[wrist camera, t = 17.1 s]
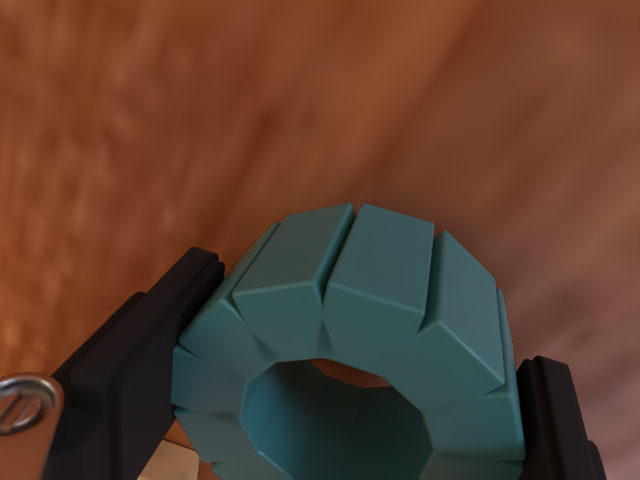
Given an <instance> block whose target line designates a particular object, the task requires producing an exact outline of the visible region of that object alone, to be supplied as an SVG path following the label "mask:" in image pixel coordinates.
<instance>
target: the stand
mask: <svg viewBox="0 0 640 480" xmlns="http://www.w3.org/2000/svg"><path fill="white" fill-rule="evenodd" d="M198 467H199V456H198V454H197V452H196V451H194V450H191V449H188V448H185V447H182V446H179V445H177V444H174V443H171V442H168V441H165V440H162V441H161V443H160V444H159V446H158V448H157V449H156V451H155V452H154V454H153V455H152V457H151V459H150V460H149V462H148V463H147V465H146V466H145V468H144V470H143V471H142V473H141V474H140V476H139V477H138V479H137V480H197V476H198Z"/></svg>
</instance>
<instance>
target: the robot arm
mask: <svg viewBox="0 0 640 480" xmlns="http://www.w3.org/2000/svg"><path fill="white" fill-rule="evenodd" d="M224 271H225V264H224V263H223V262H220V261H219V257H218V255H217V254H216V253H213V252H210V251H207V250H203V249H200V248H197V247H191V248H190V249H189V250H188V251H187V252H186V253H185V254H184V255H183V256H182V257H181V258H180V259H179V260H178V261H177V262H176V263H175V264H174V265H173V266H172V267H171V268H170V269H169V271H168V272H167V273H166V274H165V275H164V276H163V277H162V278H161V279H160V280H159V281H158V282H157V283H156V284H155V285H154V286H153V287H152V288H151V289H150V290H149V291H148V292H147V293H144V292H141V291H140V292H137V293H135V294H134V295H132V296H131V297H130V298H129V299H128V300H127V301H126V302H125V303H124V304H123V305H122V306H121V307H120V308H119V309H118V310H117V311H116V312H115V313H114V314H113V315H112V316H111V317H110V318H109V319H108V320H107V321H106V322H105V323H104V324H103V325H102V326H101V327H100V328H99V329H98V330H97V331H96V332H95V333H94V334H93V335H92V336H91V337H90V338H89V339H88V340H87V341H86V342H85V343H84V344H83V345H81V346H80V347H79V348H78V349H77V350H76V351H75V352H74V353H73V354H72V355H71V356H70V357H69V358H68V359H67V360H66V361H65V362H64V363H63V364H62V365H61V366H60V367H59V368H58V369H57V370H56V371H55V372H54V373H53V374H52V375H51V376H47V375H45V374H42V373H34V372H24V373H14V374H11V375H7V376H4V377H1V378H0V480H137V479H138V477H139V476H140V474H141V473H142V471H143V470H144V468H145V466H146V465H147V463H148V462H149V460H150V459H151V457H152V455H153V454H154V452H155V451H156V449H157V448H158V446H159V444H160V443H161V441H162V440H163V438H164V437H165V435H166V433H167V432H168V430H169V429H170V427H171V426H172V424H173V423H174V421H175V419H176V417H175V415H174V409H175V407H176V405H173V404H171V389H172V368H173V351H174V349H175V347H176V346H177V345H178V343H179V342H178V339H179V336H180V334H181V333H182V332H183V330H184V329H185V328H186V327H187V325H188V324H189V323H190V321H191V320H192V319H193V317H194V316H195V315H196V314H197V312H198V311H199V310H200V308H201V307H202V306H203V305H204V303H205V302H206V301H207V299H208V298H209V297H210V295H211V294H212V293H213V292H214V290H215V289H216V288H217V286H218V285H219V284H220V283H221V281H222V280H223V279H224ZM516 375H517V383H518V390H519V398H520V406H521V414H522V421H523V429H524V437H525V445H526V452H527V455H526V458H525V460H523V461H522V462H523V472H522V474H521V475H520V477H519V478H518V480H607V479H606V475H605V472H604V468H603V464H602V461H601V457H600V454H599V451H598V449H597V446H596V445H595V444H594V443H593V442H592V441H590V440H588V438H587V435H586V431H585V427H584V423H583V419H582V415H581V412H580V408H579V404H578V400H577V396H576V393H575V389H574V385H573V381H572V377H571V373H570V370H569V367H568V365H566V364H564V363H561V362H558V361H555V360H552V359H549V358H545V357H542V356H536V357H534V359H533V360H528V359H525V360H524V361H523V362H522V363H521V365H520V367H519V369H518V370H517V372H516Z"/></svg>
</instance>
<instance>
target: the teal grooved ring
mask: <svg viewBox="0 0 640 480" xmlns="http://www.w3.org/2000/svg"><path fill="white" fill-rule="evenodd" d="M434 229H435V225H434V223H432V222H429V221H425V220H422V219H418V218H415V217H411V216H408V215H405V214H401V213H398V212H394V211H391V210H387V209H384V208H380V207H377V206H374V205H370V204H367V203H363V204H362V205H361V207H360V209H359V212H358V214H357V216H356V214H355V211H354V208H353V205H352V204H351V203H345V204H340V205H335V206H330V207H325V208H321V209H316V210H311V211H306V212H301V213H296V214H292V215H288V216H286V218H285V219H284V220H283V222H282V223H280V222H275V223H274V224H273V225H272V226H271V227H270V228H269V229H268V230H267V231H266V232H265V233H264V234H263V235H262V236H261V237H260V238H259V239H258V240H257V241H256V242H255V243H254V244H253V245H252V246H251V247H250V248H249V249H248V250H247V251H246V252H245V253H244V254H243V255H242V256H241V257H240V258H239V259H238V261H237V262H236V263H235V264H234V266H233V267H232V268H231V270H230V271H229V272H228V274H227V275H226V276H225V277H224V279H223V280H222V281H221V283H220V284H219V285H218V286H217V288H216V289H215V290H214V292H213V293H212V294H211V295H210V297H209V298H208V299H207V301H206V302H205V303H204V305H203V306H202V307H201V308H200V310H199V311H198V312H197V314H196V315H195V316H194V317H193V319H192V320H191V321H190V323H189V324H188V325H187V327H186V328H185V329H184V330H183V332H182V333H181V334H180V336H179V339H178V342H179V343H178V345H177V346H176V347H175V349H174V351H173V368H172V389H171V404H173V405H176V407H175V409H174V415H175V417H176V418H177V420H178V422H179V423H180V425H181V427H182V429H183V430H184V432H185V434H186V435H187V437H188V439H189V440H190V442H191V444H192V446H193V447H194V449H195V451H196V452H197V454H198V456H199V458H200V459H201V461H203V462H213V463H212V465H211V471H212V472H213V473H214V474H216V475H217V476H218V477H219V478H221V479H222V480H518V478H519V477H520V475H521V474H522V472H523V462H522V461H523V460H525V458H526V455H527V452H526V445H525V437H524V429H523V421H522V414H521V406H520V398H519V390H518V383H517V375H516V367H515V359H514V352H513V344H512V339H511V334H510V329H509V324H508V319H507V314H506V309H505V304H504V299H503V294H502V291H501V290H500V289H499V288H496V284H495V278H494V276H493V275H492V274H491V273H489V272H488V271H487V270H486V269H485V268H484V267H483V266H482V265H481V264H480V263H479V262H478V261H477V260H476V259H475V258H474V257H473V256H472V255H471V254H470V253H469V252H468V251H467V250H466V249H465V248H464V247H463V246H462V245H461V244H460V243H459V242H458V241H457V240H456V239H455V238H454V237H453V236H452V235H450V234H449V233H448V232H447V231H445V230H444V231H442V232H441V233H439V234H438V235H437V236H436V237H434ZM321 358H327V359H330V360H333V361H336V362H339V363H342V364H345V365H348V366H351V367H354V368H357V369H360V370H363V371H366V372H369V373H372V374H375V375H378V376H381V377H382V378H383V379H385V380H386V381H387V382H388V383H389V384H390V385H391V386H389V387H373V388H362V387H359V386H356V385H353V384H350V383H347V382H344V381H341V380H338V379H335V378H332V377H329V376H326V375H325V374H324V373H323V372H322V371H321V370H319V369H318V368H317V367H316V366H315V365H314V364H312V363H311V362H310V361H309V360H310V359H321Z"/></svg>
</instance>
